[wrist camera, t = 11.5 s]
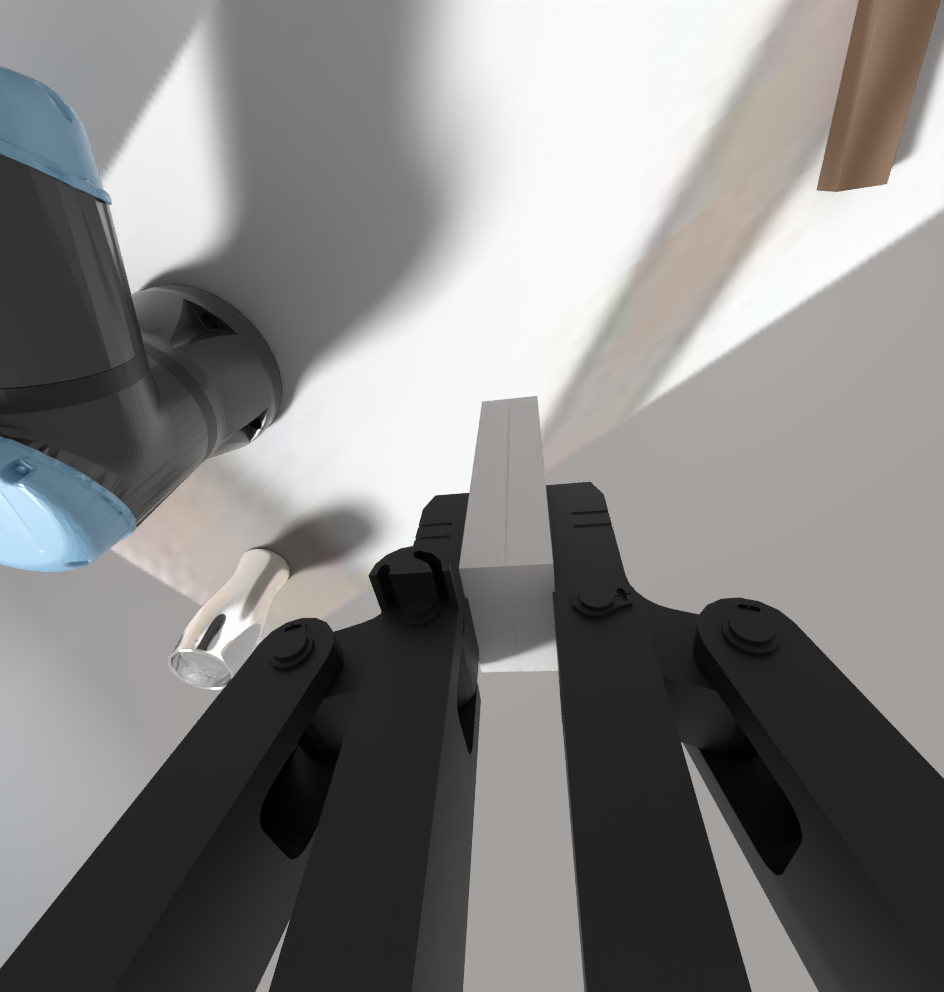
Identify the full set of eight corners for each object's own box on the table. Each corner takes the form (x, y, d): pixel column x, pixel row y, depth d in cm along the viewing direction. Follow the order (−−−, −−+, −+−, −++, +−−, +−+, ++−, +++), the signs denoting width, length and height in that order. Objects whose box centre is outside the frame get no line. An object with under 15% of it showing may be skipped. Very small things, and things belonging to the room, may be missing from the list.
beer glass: (228, 563, 59) (153, 667, 47) (256, 536, 56) (184, 638, 44) (274, 594, 62) (215, 699, 50) (304, 569, 59) (248, 674, 47)
